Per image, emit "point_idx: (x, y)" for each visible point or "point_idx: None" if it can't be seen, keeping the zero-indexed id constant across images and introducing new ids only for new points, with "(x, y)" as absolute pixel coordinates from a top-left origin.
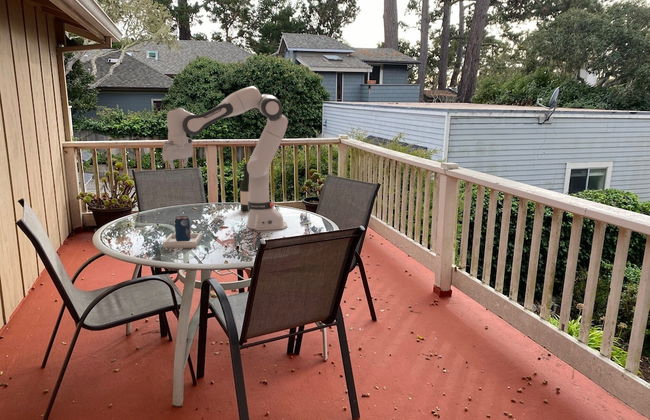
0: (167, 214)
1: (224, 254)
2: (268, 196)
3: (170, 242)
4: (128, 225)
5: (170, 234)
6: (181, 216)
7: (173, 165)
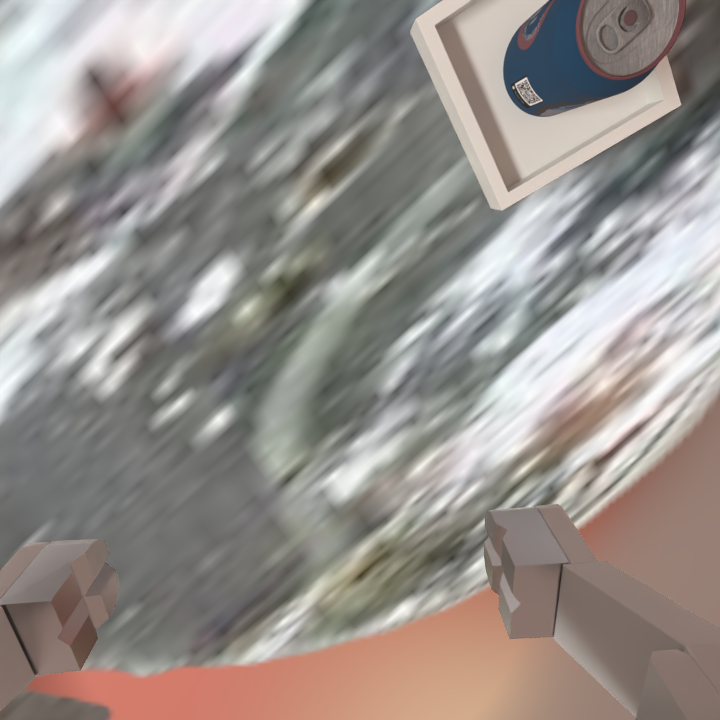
0: None
1: None
2: None
3: (666, 62)
4: (374, 565)
5: (520, 195)
6: (589, 61)
7: (577, 559)
